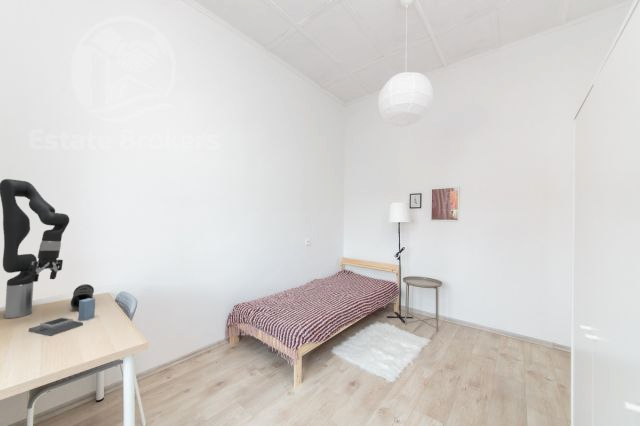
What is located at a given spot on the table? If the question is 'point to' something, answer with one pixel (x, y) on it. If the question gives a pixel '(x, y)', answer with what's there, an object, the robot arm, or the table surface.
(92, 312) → the peg
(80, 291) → the muzzle brake
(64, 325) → the grey metal socket plate
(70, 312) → the table surface
